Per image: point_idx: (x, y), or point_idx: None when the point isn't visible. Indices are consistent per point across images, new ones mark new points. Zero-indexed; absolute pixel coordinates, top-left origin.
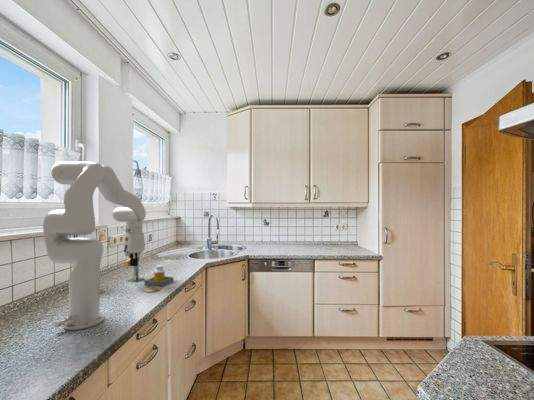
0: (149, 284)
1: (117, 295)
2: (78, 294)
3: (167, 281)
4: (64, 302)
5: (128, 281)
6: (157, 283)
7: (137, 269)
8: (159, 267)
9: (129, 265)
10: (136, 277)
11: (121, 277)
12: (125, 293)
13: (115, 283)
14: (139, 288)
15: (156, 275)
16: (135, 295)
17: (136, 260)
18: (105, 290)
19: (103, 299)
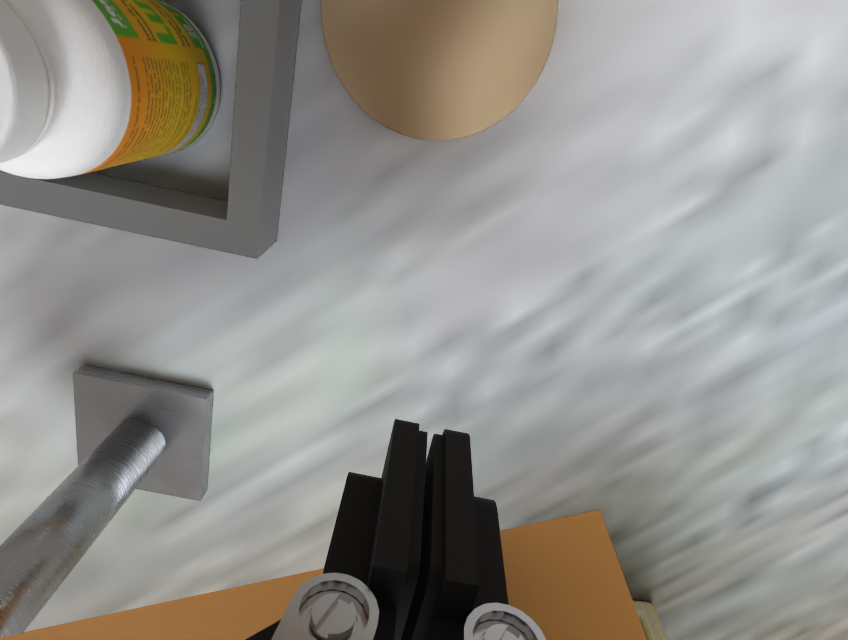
0: (279, 166)
1: (657, 342)
2: None
3: None
4: (808, 631)
5: (207, 482)
6: (285, 10)
7: (67, 507)
8: (2, 20)
9: None
10: (142, 442)
11: (111, 603)
12: (592, 296)
13: (294, 557)
14: (404, 236)
15: (156, 84)
16: (667, 134)
17: (420, 525)
18: (506, 526)
19: (773, 403)
